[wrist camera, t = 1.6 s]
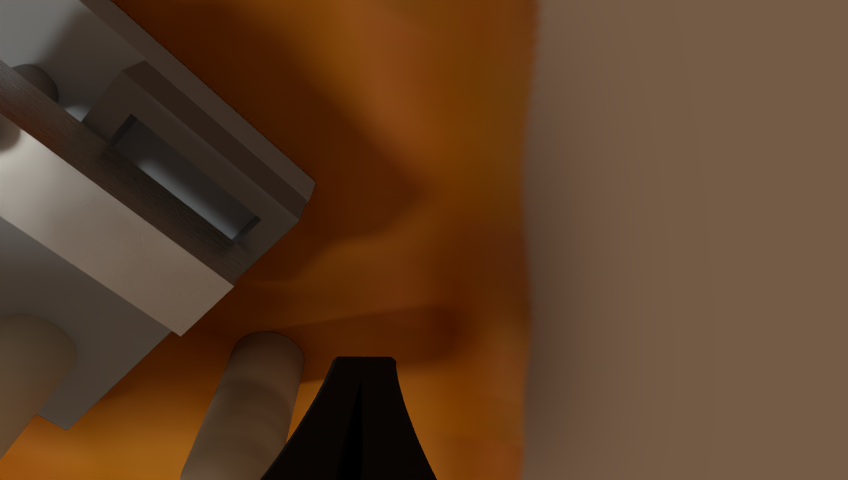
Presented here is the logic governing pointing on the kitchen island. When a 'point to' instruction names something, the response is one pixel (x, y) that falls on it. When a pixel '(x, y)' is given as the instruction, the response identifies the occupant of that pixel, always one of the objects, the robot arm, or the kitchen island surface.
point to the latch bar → (107, 212)
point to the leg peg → (248, 411)
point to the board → (158, 157)
